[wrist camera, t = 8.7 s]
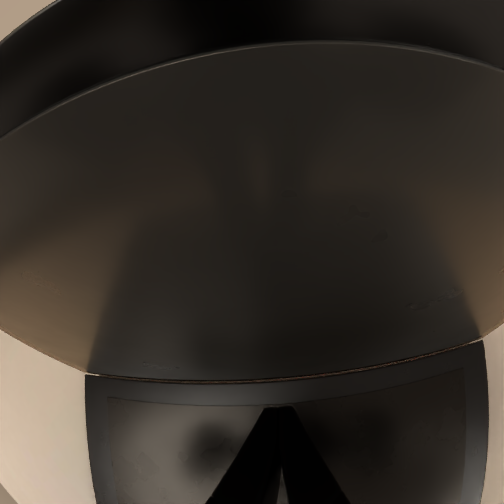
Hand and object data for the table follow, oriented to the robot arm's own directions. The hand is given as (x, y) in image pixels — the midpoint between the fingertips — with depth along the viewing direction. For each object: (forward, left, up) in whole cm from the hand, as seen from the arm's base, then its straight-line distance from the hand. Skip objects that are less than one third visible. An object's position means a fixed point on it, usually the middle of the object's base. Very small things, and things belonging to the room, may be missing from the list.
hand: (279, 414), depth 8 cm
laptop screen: (+2, -1, +2) cm, 3 cm away
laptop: (-5, +3, -7) cm, 10 cm away
